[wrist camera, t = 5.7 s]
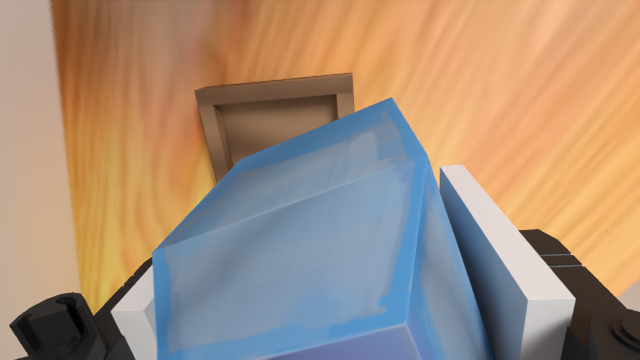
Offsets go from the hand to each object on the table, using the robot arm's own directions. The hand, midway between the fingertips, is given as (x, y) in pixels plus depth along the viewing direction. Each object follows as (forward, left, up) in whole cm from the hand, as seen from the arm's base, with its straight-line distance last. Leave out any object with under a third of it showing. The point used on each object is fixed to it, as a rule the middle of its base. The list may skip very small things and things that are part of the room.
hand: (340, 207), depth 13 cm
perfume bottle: (0, 0, -1) cm, 1 cm away
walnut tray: (+3, -5, -15) cm, 17 cm away
